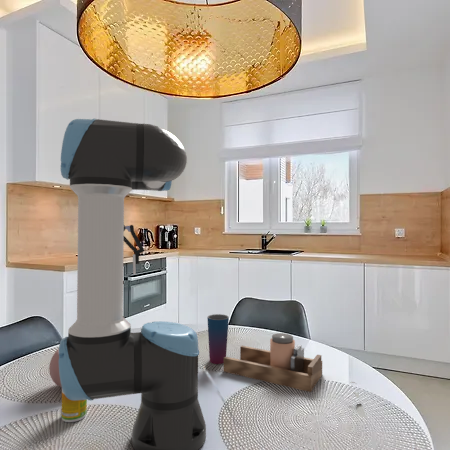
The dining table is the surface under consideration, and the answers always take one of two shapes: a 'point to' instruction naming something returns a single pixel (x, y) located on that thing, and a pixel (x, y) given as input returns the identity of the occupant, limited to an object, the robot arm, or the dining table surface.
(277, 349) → the jar
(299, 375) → the wooden tray
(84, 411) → the supplement bottle
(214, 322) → the cup
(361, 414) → the spoon
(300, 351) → the pusher
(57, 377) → the pink round piece
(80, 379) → the robot arm
